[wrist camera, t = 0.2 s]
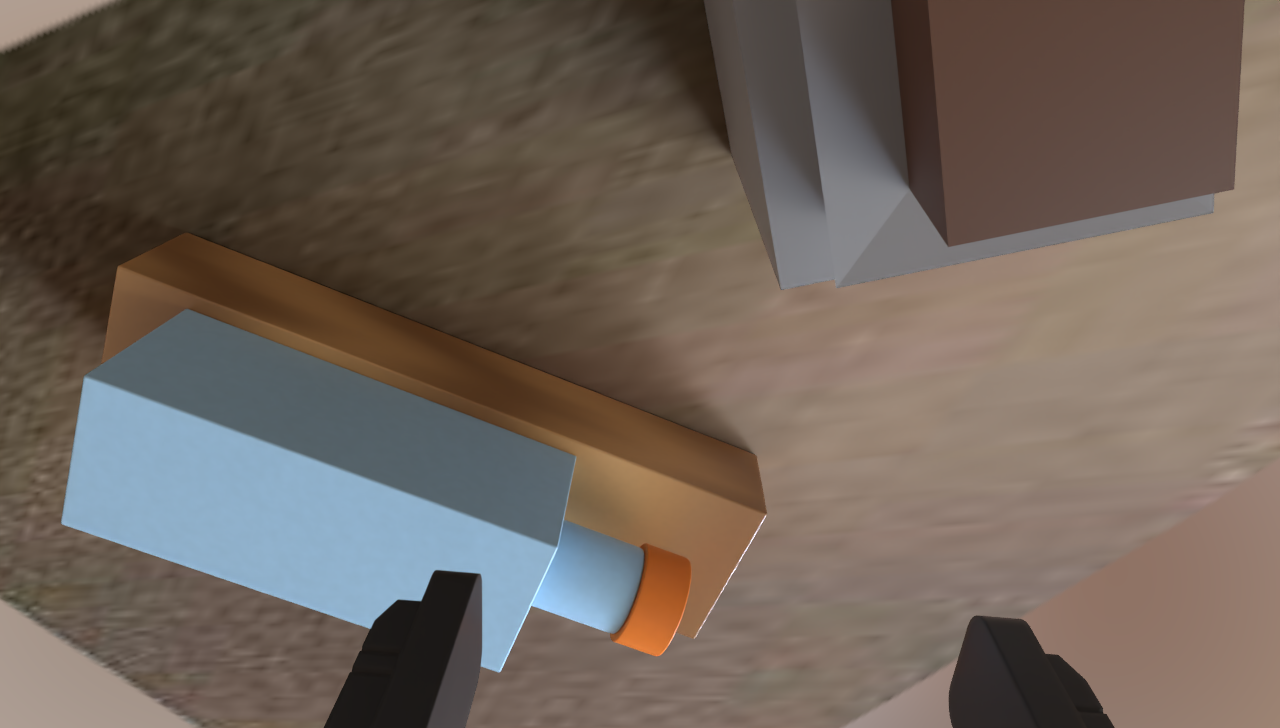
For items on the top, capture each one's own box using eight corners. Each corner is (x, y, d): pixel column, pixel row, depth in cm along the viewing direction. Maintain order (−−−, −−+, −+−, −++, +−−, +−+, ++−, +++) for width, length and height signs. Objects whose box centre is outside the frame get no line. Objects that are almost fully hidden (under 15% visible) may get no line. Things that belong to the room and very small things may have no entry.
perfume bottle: (922, -130, 24) (1470, -396, 8) (941, 109, 27) (1379, 298, 10) (691, -70, 25) (729, -193, 8) (731, 156, 27) (822, 402, 11)
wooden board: (157, 374, 31) (90, 424, 28) (185, 231, 29) (116, 265, 25) (692, 571, 34) (694, 640, 31) (757, 454, 32) (768, 514, 28)
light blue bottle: (159, 436, 28) (59, 524, 23) (186, 307, 26) (82, 375, 21) (643, 610, 30) (638, 720, 26) (701, 502, 28) (706, 601, 24)
